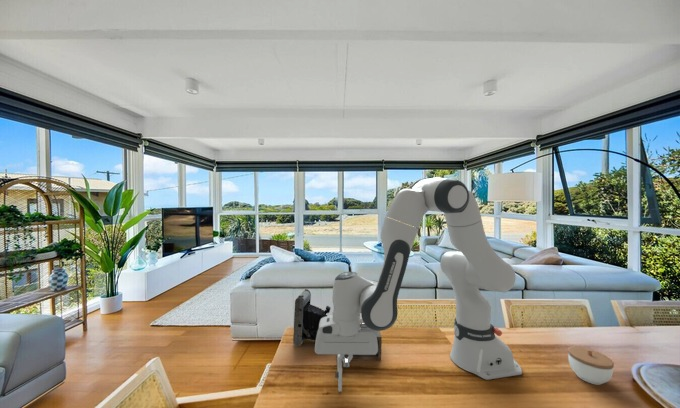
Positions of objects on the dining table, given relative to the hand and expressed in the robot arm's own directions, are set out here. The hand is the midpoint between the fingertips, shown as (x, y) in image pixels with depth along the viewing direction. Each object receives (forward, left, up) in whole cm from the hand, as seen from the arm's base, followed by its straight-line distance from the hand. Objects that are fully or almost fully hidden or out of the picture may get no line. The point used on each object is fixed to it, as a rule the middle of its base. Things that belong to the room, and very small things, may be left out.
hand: (346, 365), depth 80 cm
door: (+3, -2, -4) cm, 5 cm away
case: (-5, -16, -5) cm, 18 cm away
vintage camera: (+12, -21, -5) cm, 24 cm away
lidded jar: (-81, -2, -5) cm, 81 cm away
